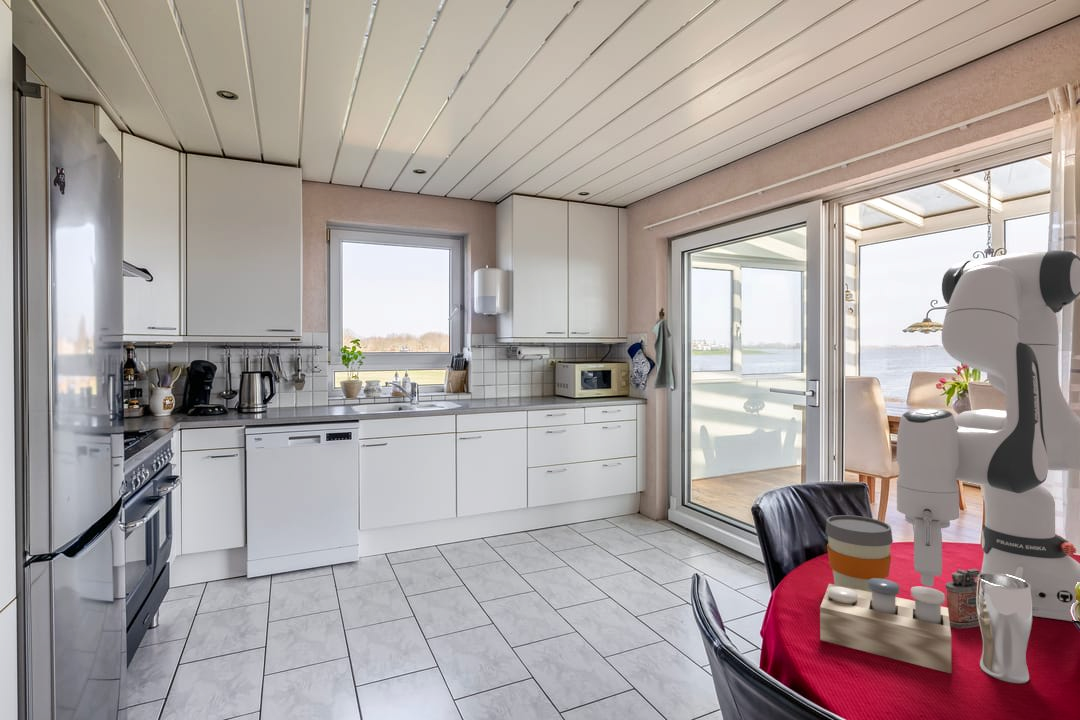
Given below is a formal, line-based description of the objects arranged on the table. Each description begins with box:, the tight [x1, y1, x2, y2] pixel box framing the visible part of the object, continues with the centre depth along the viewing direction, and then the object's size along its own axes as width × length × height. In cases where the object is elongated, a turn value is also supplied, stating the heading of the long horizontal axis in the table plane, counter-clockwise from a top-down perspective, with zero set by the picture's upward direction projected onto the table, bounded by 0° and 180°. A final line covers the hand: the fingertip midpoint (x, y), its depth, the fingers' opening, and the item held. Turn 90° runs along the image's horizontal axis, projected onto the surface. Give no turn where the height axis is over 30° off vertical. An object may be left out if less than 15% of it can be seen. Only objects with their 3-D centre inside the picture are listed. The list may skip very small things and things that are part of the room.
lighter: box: [945, 568, 981, 629], centre depth 104 cm, size 8×3×10 cm, turn 105°
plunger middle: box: [868, 578, 900, 615], centre depth 98 cm, size 5×5×7 cm
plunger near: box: [910, 585, 946, 625], centre depth 95 cm, size 5×5×7 cm
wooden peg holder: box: [819, 583, 952, 674], centre depth 99 cm, size 19×12×6 cm, turn 55°
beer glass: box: [976, 572, 1034, 684], centre depth 88 cm, size 7×7×15 cm
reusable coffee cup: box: [825, 514, 894, 592], centre depth 118 cm, size 13×13×15 cm
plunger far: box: [828, 587, 857, 606], centre depth 102 cm, size 5×5×7 cm
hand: (927, 583), depth 95 cm, fingers closed
